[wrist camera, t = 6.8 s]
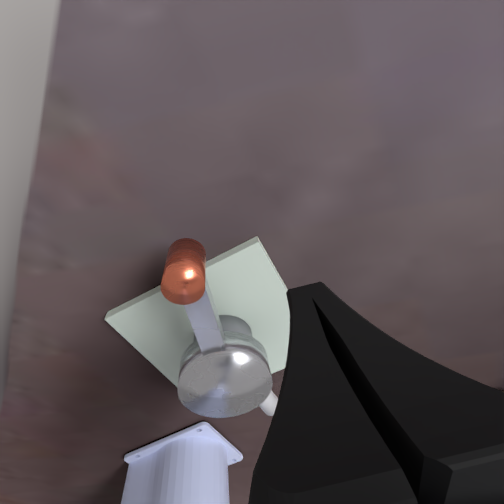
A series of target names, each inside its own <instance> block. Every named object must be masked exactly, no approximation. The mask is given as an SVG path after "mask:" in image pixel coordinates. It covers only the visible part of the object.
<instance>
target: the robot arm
mask: <svg viewBox="0 0 504 504" xmlns="http://www.w3.org/2000/svg"><path fill="white" fill-rule="evenodd" d="M286 295H287V300H288V306H289V311H290V332H289V343H288V353H287V360H286V366H285V371H284V377H283V381H282V385H281V390H280V394H279V398H278V402H277V405H276V409H275V412H274V415H273V418H272V422H271V425H270V428H269V431H268V434H267V437H266V440H265V442H264V445H263V448H262V450H261V453H260V455H259V458H258V461H257V463H256V466H255V468H254V471H253V477H252V483H251V489H250V496H249V503H248V504H504V392H502V391H500V390H497V389H494V388H492V387H489V386H487V385H484V384H482V383H480V382H477V381H475V380H473V379H470V378H468V377H466V376H463V375H461V374H459V373H457V372H455V371H453V370H451V369H449V368H446V367H444V366H442V365H440V364H438V363H436V362H434V361H432V360H430V359H428V358H426V357H424V356H423V355H421V354H419V353H417V352H415V351H414V350H412V349H410V348H408V347H407V346H405V345H403V344H402V343H400V342H398V341H397V340H395V339H393V338H392V337H390V336H389V335H387V334H386V333H384V332H383V331H381V330H380V329H379V328H377V327H376V326H374V325H373V324H371V323H370V322H369V321H367V320H366V319H365V318H363V317H362V316H361V315H359V314H358V313H357V312H356V311H354V310H353V309H352V308H351V307H349V306H348V305H347V304H346V303H345V302H343V301H342V300H341V299H340V298H339V297H338V296H337V295H335V294H334V293H333V292H332V291H331V290H330V289H329V288H328V287H327V286H326V285H325V284H324V283H322V282H318V283H313V284H309V285H305V286H301V287H297V288H293V289H289V290H288V291H287V292H286ZM242 459H243V455H242V453H241V452H239V451H238V450H237V449H236V448H235V447H234V446H233V445H232V444H231V443H230V442H228V441H227V440H226V439H225V438H224V437H223V436H222V435H221V434H220V433H219V432H217V431H216V430H215V429H214V428H213V427H212V426H211V425H210V424H209V423H207V422H200V423H198V424H196V425H193V426H191V427H189V428H186V429H184V430H182V431H179V432H177V433H175V434H172V435H170V436H168V437H165V438H163V439H161V440H158V441H156V442H154V443H151V444H149V445H146V446H144V447H142V448H139V449H137V450H135V451H132V452H130V453H128V454H126V455H125V457H124V461H125V462H127V463H128V464H129V466H128V471H127V476H126V481H125V486H124V491H123V495H122V500H121V504H229V484H228V465H231V464H233V463H236V462H238V461H241V460H242Z"/></svg>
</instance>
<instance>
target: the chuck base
mask: <svg viewBox="0 0 504 504" xmlns="http://www.w3.org/2000/svg"><path fill="white" fill-rule="evenodd" d="M205 274H206V277H207V280H208V284H209V287H210V290H211V293H212V296H213V299H214V302H215V306H216V309H217V312H218V315H219V318H220V321H221V324H222V328H223V331H224V332H226V331H227V332H239V333H243V334H246V335H249V336H251V337H253V338H255V339H256V340H258V341H259V342H260V343H261V344H262V345H263V347H264V348H265V350H266V353H267V357H268V362H269V367H270V372H271V374H272V373H275V372H277V371H279V370H281V369H284V368H285V366H286V360H287V353H288V343H289V332H290V311H289V306H288V300H287V295H286V292H287V291H288V289H287V287H286V286H285V284H284V282H283V280H282V279H281V277H280V275H279V273H278V272H277V270H276V268H275V266H274V265H273V263H272V261H271V259H270V258H269V256H268V254H267V252H266V250H265V249H264V247H263V245H262V243H261V242H260V240H259V238H258V236H256V237H254V238H252V239H250V240H248V241H246V242H244V243H242V244H240V245H238V246H236V247H234V248H232V249H230V250H228V251H226V252H224V253H222V254H220V255H218V256H216V257H215V258H213V259H211V260H209V261H207V262H206V271H205ZM104 320H106V321H107V322H108V323H109V324H110V325H111V326H112V327H113V328H114V329H115V330H116V331H117V332H118V333H119V334H121V335H122V336H123V337H124V338H125V339H126V340H127V341H128V342H129V343H130V344H131V345H132V346H133V347H134V348H136V349H137V350H138V351H139V352H140V353H141V354H142V355H143V356H144V357H145V358H146V359H147V360H148V361H149V362H151V363H152V364H153V365H154V366H155V367H156V368H157V369H158V370H159V371H160V372H161V373H162V374H163V375H165V376H166V377H167V378H168V379H169V380H170V381H171V382H172V383H173V384H174V385H175V386H176V387H177V388H178V379H179V369H180V360H181V357H182V355H183V353H184V351H185V350H186V348H187V347H188V346H189V345H190V344H192V343H193V342H194V341H196V340H197V339H196V336H195V333H194V331H193V328H192V326H191V323H190V321H189V318H188V316H187V313H186V310H185V308H184V305H179V304H175V303H172V302H170V301H169V300H167V299H166V298H165V297H164V296H163V294H162V292H161V285H159V286H157V287H155V288H153V289H151V290H149V291H147V292H145V293H143V294H142V295H140V296H138V297H136V298H134V299H132V300H130V301H128V302H126V303H124V304H122V305H120V306H118V307H116V308H114V309H112V310H110V311H108V312H107V314H106V317H105V319H104ZM277 402H278V398H277V396H276V395H275V394H274V393H273V391H272V390H271V392H270V394H269V396H268V397H267V399H266V400H265V401H264V402H263V403H262V404H260V405H259V406H260V408H261V409H262V410H263V411H264V412H265V413H266V414H267V415H269V416H273V415H274V412H275V409H276V405H277Z"/></svg>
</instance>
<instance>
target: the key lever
mask: <svg viewBox="0 0 504 504" xmlns="http://www.w3.org/2000/svg"><path fill="white" fill-rule="evenodd" d="M205 271H206V252H205V249H204V247H203V246H202V245H201V244H200V243H199V242H198V241H196V240H193V239H189V238H184V239H179V240H177V241H175V242H174V243H173V244H172V245H171V246H170V248H169V251H168V255H167V259H166V264H165V268H164V272H163V277H162V281H161V292H162V294H163V296H164V297H165V298H166V299H167V300H169V301H170V302H172V303H175V304H179V305H184V308H185V310H186V313H187V316H188V318H189V321H190V323H191V326H192V328H193V331H194V333H195V336H196V339H197V340H196V341H194V342H193V343H192V344H190V345H189V346H188V347H187V348H186V350H185V351H184V353H183V355H182V357H181V360H180V369H179V379H178V390H177V392H178V397H179V399H180V401H181V403H182V404H183V405H184V406H185V407H186V408H187V409H189V410H190V411H192V412H194V413H196V414H199V415H202V416H206V417H213V418H225V417H233V416H237V415H241V414H244V413H247V412H249V411H251V410H253V409H255V408H256V407H258V406H259V405H260V404H262V403H263V402H264V401H265V400H266V399H267V397H268V396H269V394H270V392H271V389H272V377H271V372H270V367H269V362H268V357H267V353H266V350H265V348H264V347H263V345H262V344H261V343H260V342H259V341H258V340H256V339H255V338H253V337H251V336H249V335H246V334H243V333H239V332H227V331H226V332H224V331H223V328H222V324H221V321H220V318H219V315H218V312H217V309H216V306H215V302H214V299H213V296H212V293H211V290H210V287H209V284H208V280H207V277H206V274H205Z"/></svg>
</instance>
